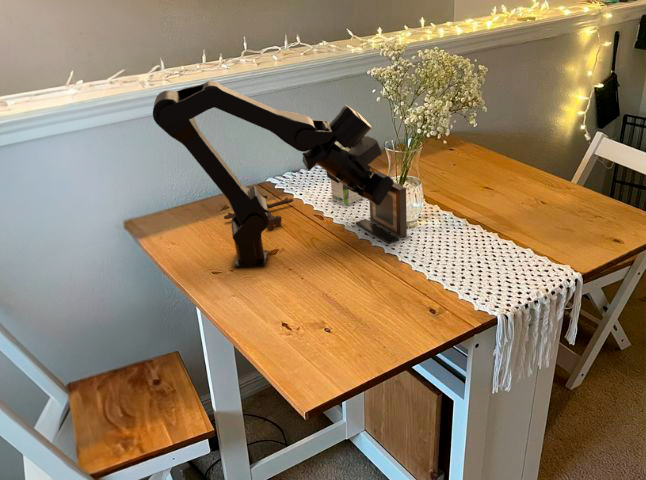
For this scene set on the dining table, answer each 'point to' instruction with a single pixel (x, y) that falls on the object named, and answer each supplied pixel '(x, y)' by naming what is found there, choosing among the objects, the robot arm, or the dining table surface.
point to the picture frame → (391, 211)
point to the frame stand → (377, 231)
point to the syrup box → (343, 190)
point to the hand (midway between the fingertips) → (382, 196)
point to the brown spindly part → (269, 214)
